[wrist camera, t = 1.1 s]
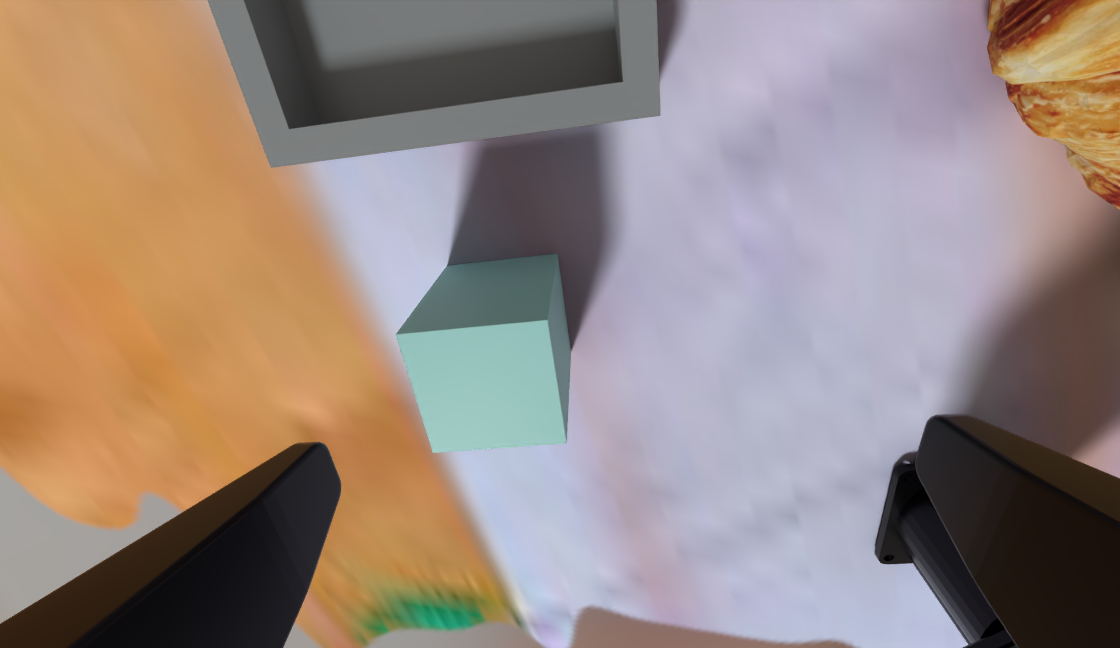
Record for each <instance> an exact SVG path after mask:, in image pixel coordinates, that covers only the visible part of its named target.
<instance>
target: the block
mask: <svg viewBox="0 0 1120 648" xmlns="http://www.w3.org/2000/svg"><path fill="white" fill-rule="evenodd" d="M396 337H397V340H398V343H399V346H400V349H401V353H402V356H403V359H404V362H405V365H406V368H407V372H408V375H409V378H410V381H411V384H412V387H413V391H414V394H415V397H416V400H417V403H418V407H419V410H420V413H421V416H422V419H423V422H424V426H425V429H426V432H427V435H428V438H429V441H430V445H431V448H432V451H433V453H437V452H451V451H466V450H480V449H494V448H508V447H523V446H537V445H551V444H565V443H567V423H568V403H569V382H570V361H571V348H570V341H569V334H568V326H567V319H566V311H565V304H564V297H563V289H562V282H561V274H560V267H559V260H558V253H557V254H548V255H539V256H530V257H520V258H511V259H502V260H493V261H484V262H474V263H465V264H456V265H447V267H446V268H445V269H444V271H443V272H442V273H441V275H440V276H439V277H438V279H437V280H436V281H435V283H434V284H433V285H432V287H431V288H430V289H429V291H428V292H427V293H426V295H425V296H424V297H423V299H422V300H421V301H420V303H419V304H418V305H417V307H416V308H415V309H414V311H413V312H412V313H411V315H410V316H409V318H408V319H407V320H406V322H405V323H404V324H403V326H402V327H401V328H400V330H399V331H398V332H397V334H396Z"/></svg>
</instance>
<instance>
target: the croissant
mask: <svg viewBox="0 0 1120 648" xmlns="http://www.w3.org/2000/svg"><path fill="white" fill-rule="evenodd" d="M988 28H989V30H990V31H991V35H990V39H989V42H988V46H987V50H988V54H989V58H990V62H991V68H992V73H993V74H995V75H997V76H999V77H1001V78H1003V79H1005V80H1006V88H1007V93H1008V97H1009V100H1010V101H1011V102H1012V103H1013V104H1014V105H1015V107H1016V109H1017V111H1018V113H1019V115H1020V117H1021V118H1022V120H1023V122H1024V123H1025V124H1026V125H1027V126H1028V127H1029V128H1030V129H1031V130H1032V131H1033V132H1034V133H1035V134H1036V135H1037V136H1040V137H1045V138H1052V139H1054V140H1056V141H1058V142H1060V143H1062V144H1063V145H1065V146H1067V159H1068V161H1069V162H1070V164H1071V165H1072V166H1073V167H1074V168H1075V169H1077V170H1078V171H1080V172H1081V174H1082V176H1083V178H1084V180H1085V182H1086V185H1087V187H1088V188H1089V189H1090V190H1092V191H1093V192H1094V193H1096V194H1097V195H1098V196H1100V197H1101V198H1102V199H1104V200H1105V201H1107V202H1109V203H1111V204H1113V205H1114V206H1115V207H1116V208H1118V209H1120V0H990V6H989V18H988Z"/></svg>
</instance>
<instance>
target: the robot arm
mask: <svg viewBox="0 0 1120 648" xmlns="http://www.w3.org/2000/svg"><path fill="white" fill-rule="evenodd" d="M340 494H341V481H340V478H339V475H338V473H337V470H336V468H335V465H334V463H333V460H332V457H331V455H330V452H329V450H328V448H327V446H326V445H325V444H323V443H321V442H305V443H297V444H294V445H292V446H290V447H289V448H287V449H285V450H284V451H282V452H281V453H279V454H277V455H276V456H274V457H272V458H271V459H269V460H267V461H266V462H264V463H263V464H261V465H259V466H258V467H256V468H254V469H253V470H251V471H249V472H248V473H246V474H245V475H243V476H241V477H240V478H238V479H236V480H235V481H233V482H231V483H230V484H228V485H227V486H225V487H223V488H222V489H220V490H218V491H217V492H215V493H213V494H212V495H210V496H209V497H207V498H205V499H204V500H202V501H200V502H199V503H197V504H195V505H194V506H192V507H191V508H189V509H187V510H186V511H184V512H182V513H181V514H179V515H177V516H176V517H174V518H173V519H171V520H169V521H168V522H166V523H164V524H163V525H161V526H159V527H158V528H156V529H155V530H153V531H151V532H150V533H148V534H146V535H145V536H143V537H142V538H140V539H138V540H137V541H135V542H133V543H132V544H130V545H129V546H127V547H125V548H123V549H122V550H120V551H119V552H117V553H115V554H114V555H112V556H111V557H109V558H107V559H106V560H104V561H102V562H101V563H99V564H97V565H96V566H94V567H92V568H91V569H89V570H87V571H86V572H85V573H83V574H81V575H79V576H78V577H76V578H74V579H73V580H71V581H70V582H68V583H66V584H65V585H63V586H61V587H60V588H58V589H57V590H55V591H53V592H52V593H50V594H48V595H47V596H45V597H44V598H42V599H40V600H39V601H37V602H35V603H34V604H32V605H30V606H29V607H27V608H25V609H24V610H22V611H21V612H19V613H17V614H16V615H14V616H12V617H11V618H9V619H8V620H6V621H4V622H2V623H1V624H0V648H283V647H284V645H285V642H286V640H287V638H288V635H289V633H290V631H291V629H292V626H293V624H294V622H295V620H296V618H297V615H298V613H299V611H300V608H301V606H302V604H303V601H304V599H305V596H306V594H307V592H308V589H309V586H310V584H311V581H312V578H313V576H314V573H315V570H316V567H317V564H318V561H319V558H320V555H321V552H322V549H323V546H324V543H325V540H326V537H327V534H328V531H329V528H330V525H331V522H332V519H333V516H334V513H335V510H336V507H337V504H338V501H339V498H340ZM875 555H876V557H877V558H878V560H879V561H880V563H883V564H905V563H913V564H914V566H915V567H916V569H917V570H918V571H919V573H920V574H921V576H922V577H923V579H924V580H925V582H926V583H927V585H928V586H929V588H930V589H931V590H932V592H933V593H934V595H935V596H936V598H937V599H938V601H939V602H940V604H941V605H942V607H943V608H944V610H945V611H946V612H947V614H948V615H949V617H950V618H951V620H952V621H953V623H954V624H955V626H956V627H957V629H958V630H959V631H960V633H961V634H962V636H963V637H964V639H965V640H966V642H967V643H968V645H967V646H965V647H963V648H1120V478H1117V477H1115V476H1112V475H1110V474H1108V473H1105V472H1103V471H1101V470H1098V469H1096V468H1093V467H1091V466H1089V465H1086V464H1084V463H1081V462H1079V461H1077V460H1074V459H1072V458H1070V457H1067V456H1065V455H1062V454H1060V453H1058V452H1055V451H1053V450H1051V449H1048V448H1046V447H1043V446H1041V445H1039V444H1036V443H1034V442H1031V441H1029V440H1027V439H1024V438H1022V437H1020V436H1017V435H1015V434H1012V433H1010V432H1008V431H1005V430H1003V429H1001V428H998V427H996V426H993V425H991V424H989V423H986V422H984V421H982V420H979V419H977V418H974V417H972V416H969V415H966V414H944V415H935V416H932V417H931V418H930V419H929V420H928V421H927V423H926V426H925V429H924V432H923V436H922V439H921V442H920V445H919V449H918V452H917V455H916V459H915V464H905V465H901V466H899V467H897V468H896V469H895V470H894V472H893V476H892V480H891V484H890V489H889V493H888V497H887V501H886V505H885V510H884V514H883V518H882V522H881V527H880V531H879V535H878V539H877V543H876V548H875Z"/></svg>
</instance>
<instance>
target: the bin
mask: <svg viewBox="0 0 1120 648" xmlns="http://www.w3.org/2000/svg"><path fill="white" fill-rule="evenodd" d="M208 3H209V6H210V8H211V11H212V14H213V16H214V19H215V21H216V24H217V27H218V29H219V32H220V35H221V37H222V40H223V43H224V45H225V48H226V50H227V53H228V56H229V58H230V61H231V64H232V66H233V69H234V72H235V74H236V77H237V79H238V82H239V85H240V87H241V90H242V93H243V95H244V98H245V101H246V103H247V106H248V108H249V111H250V114H251V116H252V119H253V122H254V124H255V127H256V130H257V132H258V135H259V137H260V140H261V143H262V145H263V148H264V151H265V153H266V156H267V159H268V161H269V164H270V166H271V168H273V167H280V166H288V165H295V164H302V163H310V162H317V161H325V160H332V159H340V158H347V157H355V156H362V155H370V154H377V153H385V152H392V151H400V150H407V149H414V148H422V147H429V146H437V145H444V144H452V143H459V142H467V141H474V140H482V139H489V138H497V137H504V136H512V135H519V134H527V133H534V132H541V131H549V130H556V129H564V128H571V127H579V126H586V125H594V124H601V123H609V122H616V121H624V120H631V119H639V118H646V117H653V116H660V90H659V59H658V28H657V0H208Z"/></svg>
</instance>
